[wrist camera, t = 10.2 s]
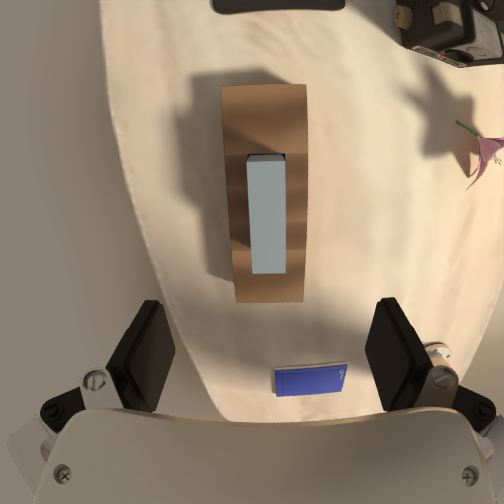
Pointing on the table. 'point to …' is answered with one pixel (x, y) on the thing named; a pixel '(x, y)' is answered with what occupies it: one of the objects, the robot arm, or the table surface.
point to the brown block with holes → (296, 178)
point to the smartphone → (275, 5)
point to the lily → (486, 152)
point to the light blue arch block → (267, 213)
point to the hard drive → (310, 379)
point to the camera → (453, 30)
